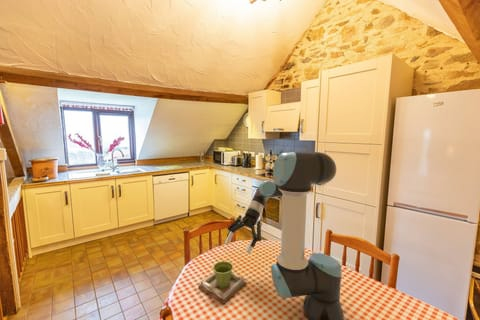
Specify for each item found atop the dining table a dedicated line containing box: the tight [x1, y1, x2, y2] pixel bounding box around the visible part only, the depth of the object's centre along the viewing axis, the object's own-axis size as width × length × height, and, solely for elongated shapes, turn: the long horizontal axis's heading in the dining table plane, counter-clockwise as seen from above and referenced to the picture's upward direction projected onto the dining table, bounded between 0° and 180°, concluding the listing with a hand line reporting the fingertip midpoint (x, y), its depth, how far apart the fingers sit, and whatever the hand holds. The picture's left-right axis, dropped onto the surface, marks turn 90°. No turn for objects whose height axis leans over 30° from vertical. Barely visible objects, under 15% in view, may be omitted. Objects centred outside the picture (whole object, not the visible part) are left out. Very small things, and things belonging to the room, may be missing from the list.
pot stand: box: [198, 271, 248, 304], centre depth 105 cm, size 16×16×3 cm
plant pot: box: [212, 260, 234, 288], centre depth 105 cm, size 9×9×9 cm
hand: (236, 248), depth 112 cm, fingers open, 13 cm apart
